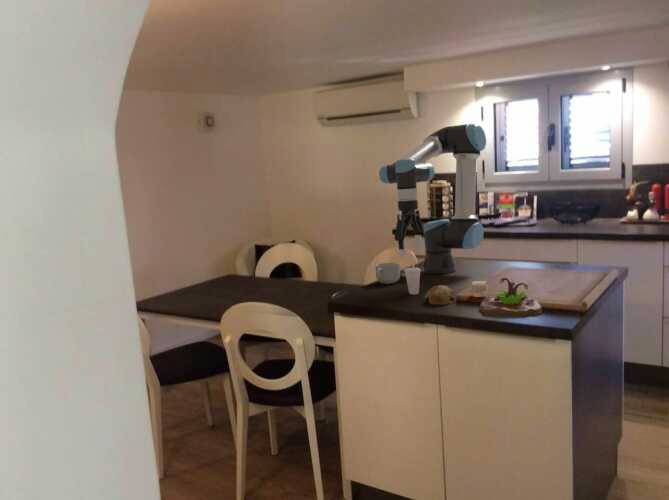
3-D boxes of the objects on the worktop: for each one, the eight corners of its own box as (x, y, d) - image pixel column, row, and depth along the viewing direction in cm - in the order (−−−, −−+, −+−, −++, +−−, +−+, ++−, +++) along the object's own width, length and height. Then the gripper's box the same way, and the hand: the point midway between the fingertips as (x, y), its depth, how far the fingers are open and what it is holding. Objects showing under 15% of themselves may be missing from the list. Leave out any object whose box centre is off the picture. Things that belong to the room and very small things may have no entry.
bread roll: (443, 315, 214) (451, 296, 211) (419, 302, 219) (426, 283, 216) (454, 308, 222) (461, 290, 220) (429, 295, 227) (437, 277, 224)
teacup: (387, 278, 267) (386, 261, 266) (406, 281, 260) (405, 262, 258) (366, 285, 258) (364, 267, 257) (385, 287, 250) (384, 268, 249)
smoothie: (421, 294, 232) (419, 259, 230) (405, 295, 234) (402, 260, 232) (422, 291, 239) (420, 256, 236) (406, 291, 240) (404, 257, 238)
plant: (482, 302, 214) (480, 272, 213) (540, 302, 209) (539, 270, 207) (479, 318, 195) (477, 284, 194) (542, 318, 190) (541, 283, 188)
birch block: (473, 294, 226) (472, 281, 226) (487, 294, 225) (486, 281, 224) (472, 297, 222) (471, 284, 221) (486, 297, 220) (485, 284, 219)
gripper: (413, 197, 243) (416, 248, 246) (383, 203, 222) (386, 259, 226) (430, 196, 239) (433, 249, 242) (401, 202, 218) (404, 260, 221)
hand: (411, 254), depth 234 cm, fingers open, 13 cm apart
